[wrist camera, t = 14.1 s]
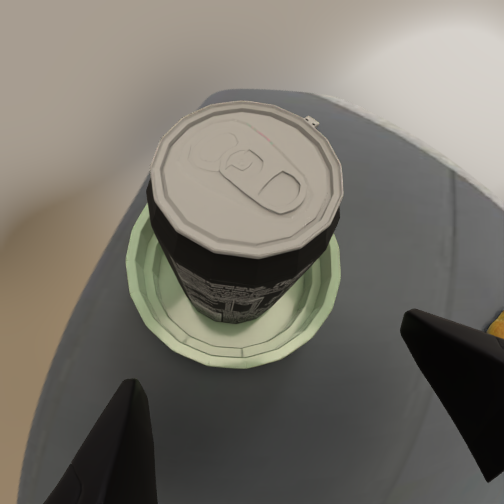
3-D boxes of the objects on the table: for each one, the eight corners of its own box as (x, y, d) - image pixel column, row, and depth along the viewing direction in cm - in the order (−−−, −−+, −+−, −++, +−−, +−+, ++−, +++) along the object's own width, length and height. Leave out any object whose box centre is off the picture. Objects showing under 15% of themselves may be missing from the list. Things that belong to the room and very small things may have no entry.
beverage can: (227, 213, 21) (239, 74, 10) (299, 272, 20) (386, 168, 9) (162, 279, 19) (96, 172, 8) (237, 346, 18) (267, 328, 7)
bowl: (283, 390, 18) (302, 399, 13) (117, 320, 18) (91, 308, 14) (334, 235, 22) (357, 207, 18) (190, 179, 22) (186, 142, 18)
